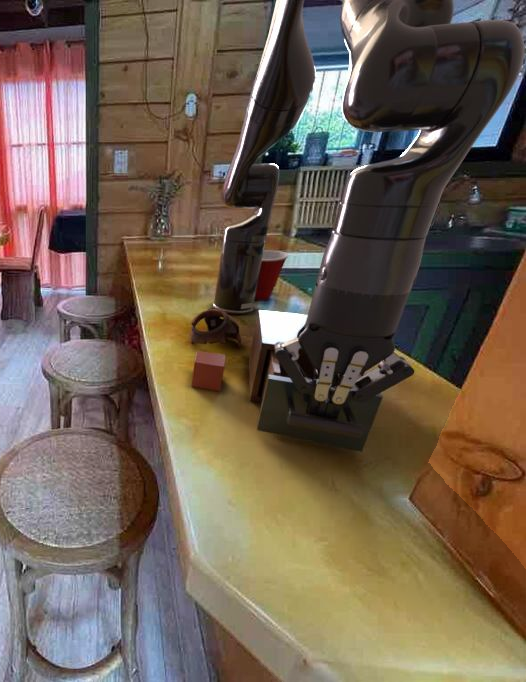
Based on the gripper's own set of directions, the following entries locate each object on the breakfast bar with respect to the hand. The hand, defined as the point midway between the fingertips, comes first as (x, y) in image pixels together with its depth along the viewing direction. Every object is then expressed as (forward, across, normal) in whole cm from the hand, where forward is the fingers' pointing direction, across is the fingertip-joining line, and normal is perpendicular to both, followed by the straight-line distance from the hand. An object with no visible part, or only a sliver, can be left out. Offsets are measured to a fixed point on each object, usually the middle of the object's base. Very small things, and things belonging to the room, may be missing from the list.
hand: (318, 424), depth 44 cm
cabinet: (+5, 0, -18) cm, 19 cm away
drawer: (+4, 0, -7) cm, 8 cm away
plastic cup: (+5, +4, -66) cm, 67 cm away
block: (+5, +13, -14) cm, 20 cm away
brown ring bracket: (+5, +13, -31) cm, 34 cm away
